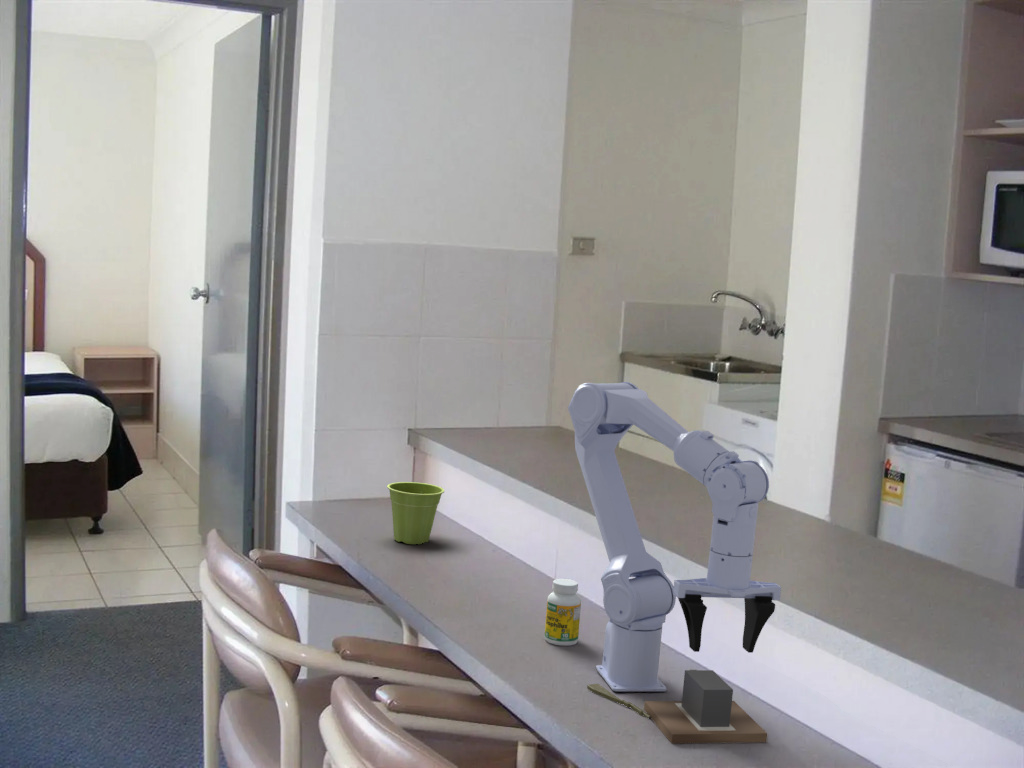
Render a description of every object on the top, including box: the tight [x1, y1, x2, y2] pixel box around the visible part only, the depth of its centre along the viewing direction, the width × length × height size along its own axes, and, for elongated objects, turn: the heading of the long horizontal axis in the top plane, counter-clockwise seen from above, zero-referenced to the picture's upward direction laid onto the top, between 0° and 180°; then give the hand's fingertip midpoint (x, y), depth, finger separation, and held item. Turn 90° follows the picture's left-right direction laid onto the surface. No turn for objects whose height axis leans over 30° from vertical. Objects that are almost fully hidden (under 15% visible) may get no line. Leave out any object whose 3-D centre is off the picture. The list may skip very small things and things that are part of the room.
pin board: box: [643, 700, 768, 744], centre depth 154 cm, size 11×13×4 cm
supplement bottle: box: [544, 578, 582, 647], centre depth 183 cm, size 5×5×10 cm
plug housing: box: [681, 669, 734, 727], centre depth 154 cm, size 9×4×5 cm, turn 12°
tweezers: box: [586, 683, 651, 719], centre depth 160 cm, size 12×2×1 cm, turn 36°
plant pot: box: [386, 481, 445, 545], centre depth 240 cm, size 12×12×11 cm
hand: (721, 649), depth 156 cm, fingers open, 7 cm apart
